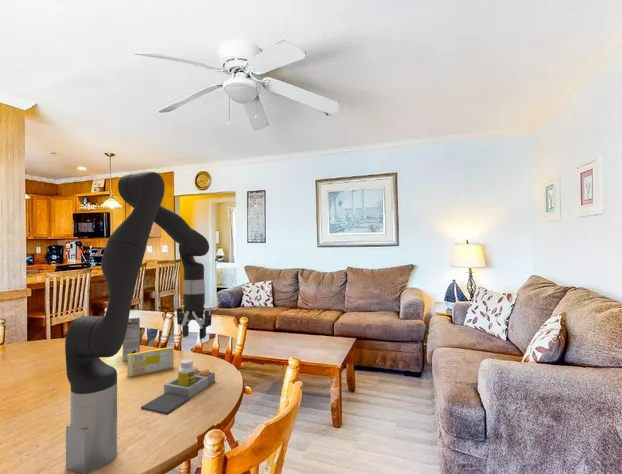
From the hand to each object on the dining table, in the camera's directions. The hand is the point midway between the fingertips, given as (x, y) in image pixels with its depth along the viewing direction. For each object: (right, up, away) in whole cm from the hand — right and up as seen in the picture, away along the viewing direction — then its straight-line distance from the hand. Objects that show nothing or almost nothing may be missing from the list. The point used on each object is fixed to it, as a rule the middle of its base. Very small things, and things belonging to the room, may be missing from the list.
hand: (194, 337), depth 124 cm
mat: (-3, -16, -18) cm, 24 cm away
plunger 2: (+5, -14, -2) cm, 15 cm away
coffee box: (-36, -16, +25) cm, 47 cm away
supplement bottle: (0, -16, -7) cm, 18 cm away
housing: (+1, -16, -6) cm, 17 cm away
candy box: (-20, -16, +9) cm, 27 cm away
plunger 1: (0, -14, 0) cm, 14 cm away
